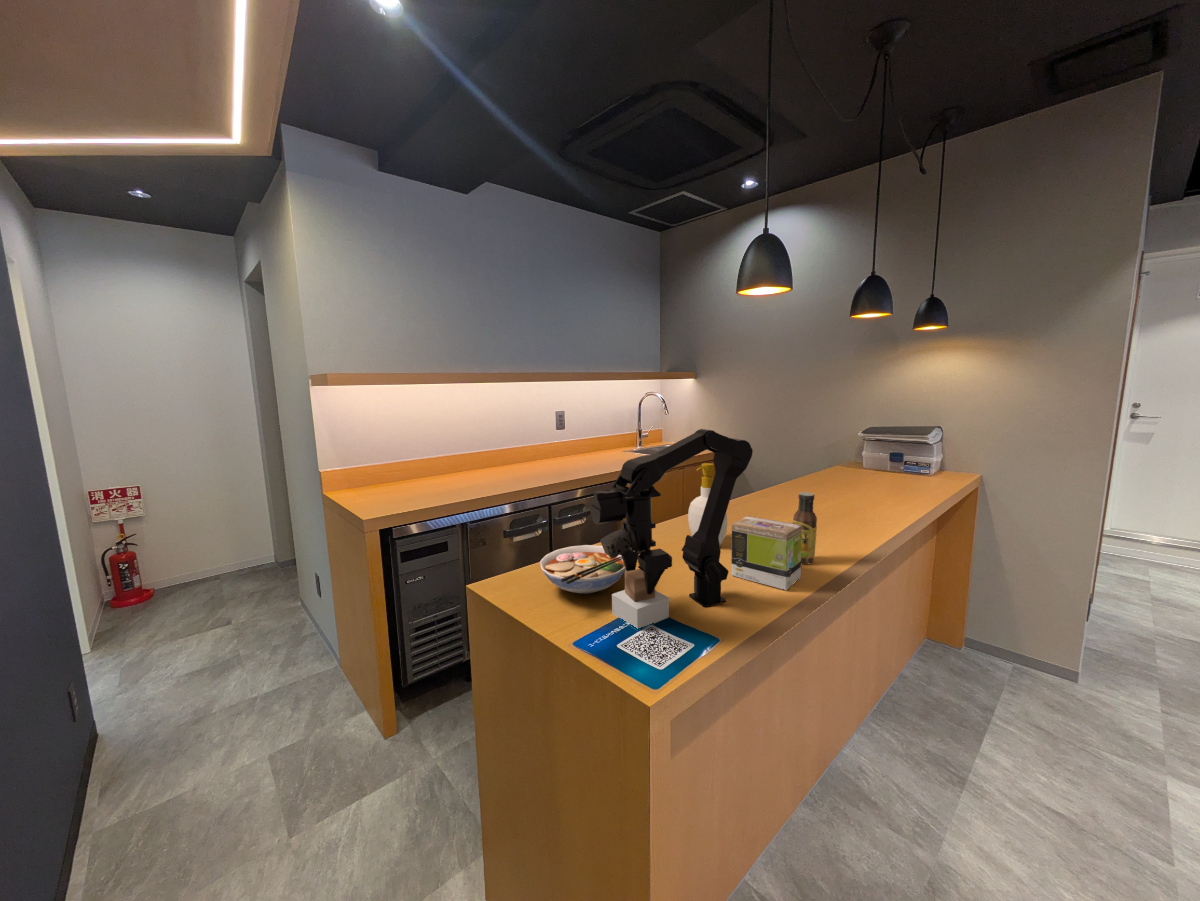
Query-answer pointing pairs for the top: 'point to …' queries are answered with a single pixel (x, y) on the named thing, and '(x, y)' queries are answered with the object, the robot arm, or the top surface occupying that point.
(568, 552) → the ramen bowl
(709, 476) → the soap bottle
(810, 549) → the sauce bottle
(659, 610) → the light grey block
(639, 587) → the walnut cube
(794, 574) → the tea box
